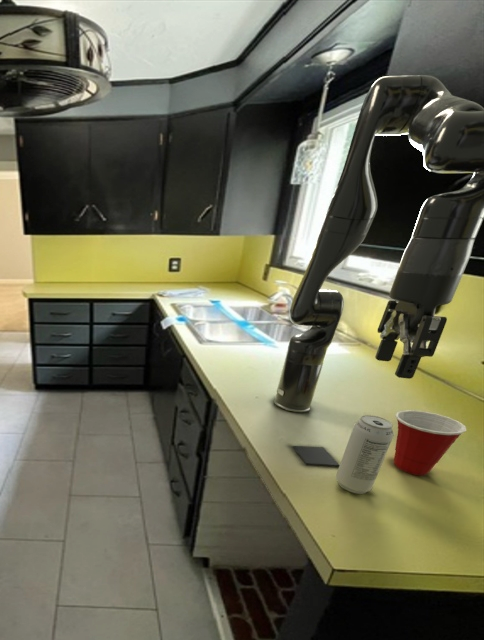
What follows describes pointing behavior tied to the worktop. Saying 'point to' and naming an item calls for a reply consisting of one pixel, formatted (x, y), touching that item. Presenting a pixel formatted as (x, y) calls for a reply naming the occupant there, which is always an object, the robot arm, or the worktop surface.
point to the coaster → (315, 456)
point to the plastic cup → (423, 440)
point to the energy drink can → (364, 454)
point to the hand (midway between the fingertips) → (392, 368)
